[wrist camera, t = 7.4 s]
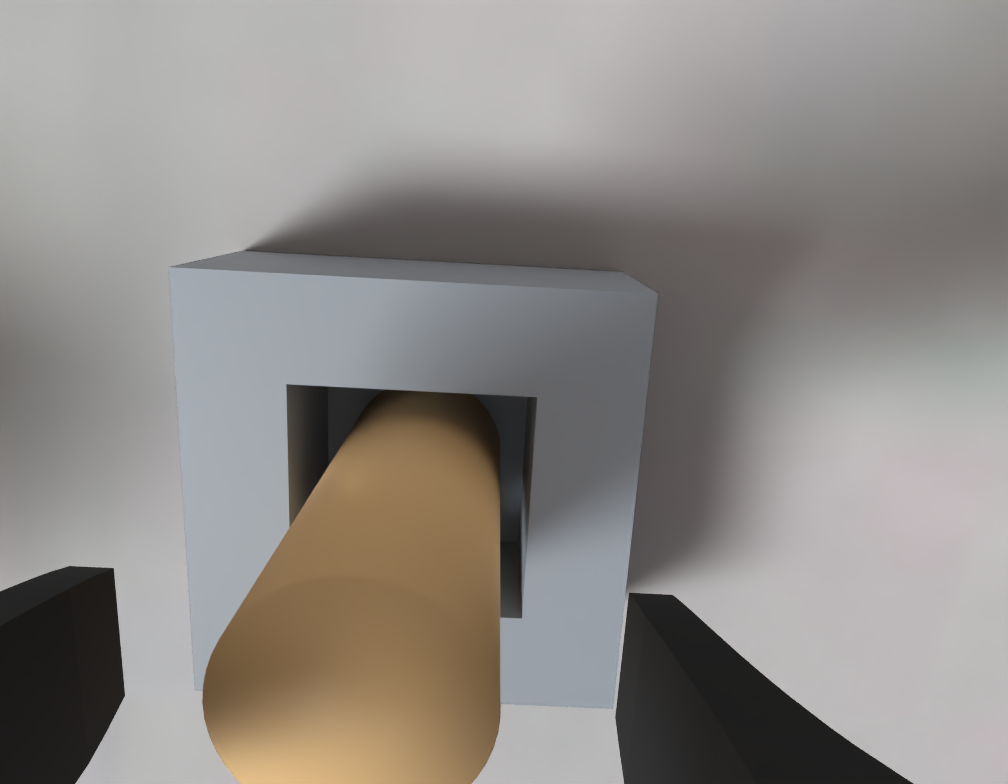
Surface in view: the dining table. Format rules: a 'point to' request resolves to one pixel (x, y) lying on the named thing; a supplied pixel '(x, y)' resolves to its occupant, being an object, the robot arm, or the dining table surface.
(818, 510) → the dining table surface
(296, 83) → the dining table surface
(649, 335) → the socket block
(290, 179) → the dining table surface
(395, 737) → the peg
